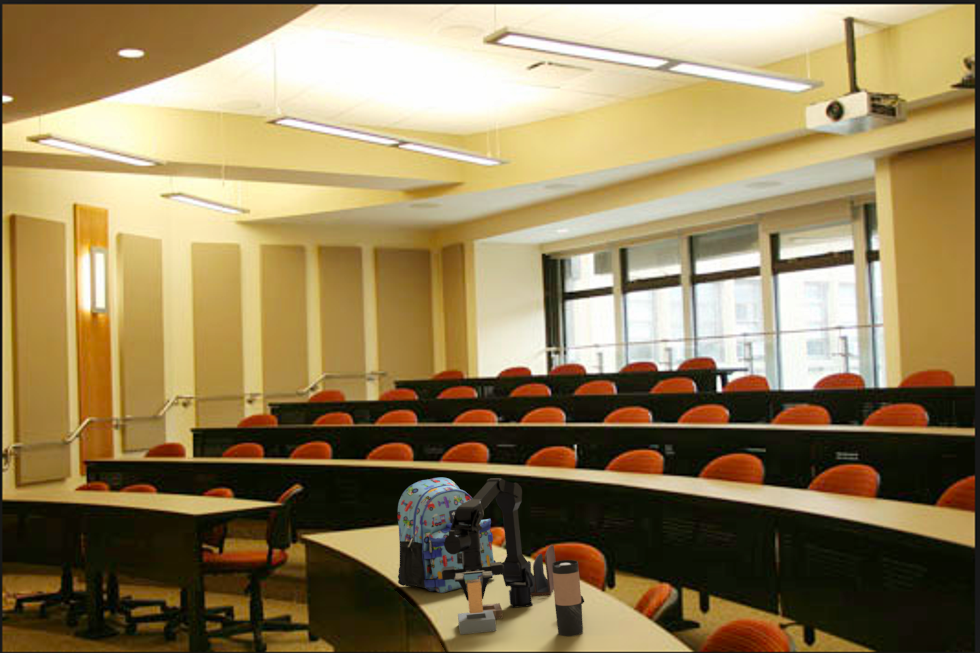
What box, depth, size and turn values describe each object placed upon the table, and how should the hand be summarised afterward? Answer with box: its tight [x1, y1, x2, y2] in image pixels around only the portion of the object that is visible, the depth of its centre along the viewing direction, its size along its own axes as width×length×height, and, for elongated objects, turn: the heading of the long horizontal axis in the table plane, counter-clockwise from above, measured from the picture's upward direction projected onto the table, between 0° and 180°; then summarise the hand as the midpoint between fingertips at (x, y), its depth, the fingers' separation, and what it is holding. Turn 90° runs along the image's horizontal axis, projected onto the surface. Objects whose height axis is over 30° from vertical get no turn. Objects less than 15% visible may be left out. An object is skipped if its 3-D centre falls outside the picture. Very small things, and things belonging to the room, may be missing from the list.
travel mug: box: [552, 559, 584, 637], centre depth 290 cm, size 8×8×20 cm
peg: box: [466, 579, 484, 614], centre depth 303 cm, size 4×4×9 cm
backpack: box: [397, 477, 496, 594], centre depth 369 cm, size 34×25×38 cm
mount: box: [483, 602, 504, 620], centre depth 316 cm, size 9×9×2 cm
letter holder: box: [527, 544, 556, 597], centre depth 348 cm, size 10×20×14 cm, turn 169°
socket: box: [457, 610, 497, 635], centre depth 303 cm, size 11×11×4 cm
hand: (475, 599), depth 303 cm, fingers closed on peg, 4 cm apart
